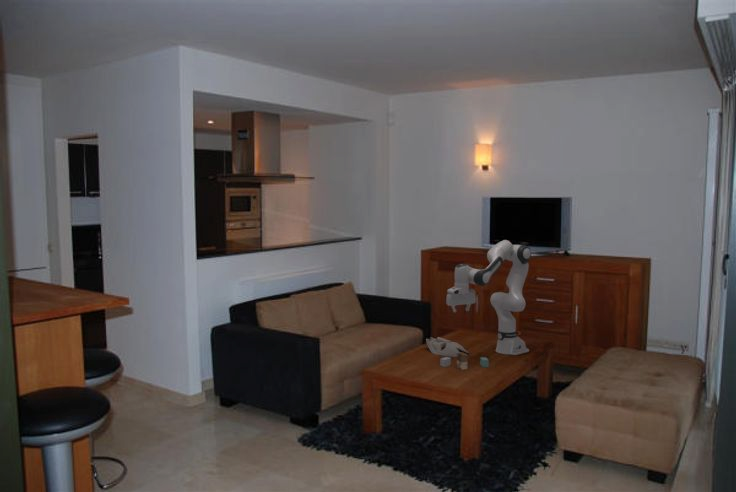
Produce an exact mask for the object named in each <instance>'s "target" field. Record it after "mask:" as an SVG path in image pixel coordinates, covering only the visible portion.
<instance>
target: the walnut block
mask: <svg viewBox="0 0 736 492" xmlns="http://www.w3.org/2000/svg"><path fill="white" fill-rule="evenodd" d="M468 355H469V353H466V352H464V351H459V352H458V353H457V357H456V361H457V360H458V361H460V362H467V363H468V359H469V358H468V357H469V356H468Z"/></svg>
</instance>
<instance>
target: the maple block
mask: <svg viewBox="0 0 736 492" xmlns="http://www.w3.org/2000/svg"><path fill="white" fill-rule="evenodd" d="M456 368H457V369H459V370H461V371H463V370H468V361H467V362H460V361H458V360H457V359H456Z"/></svg>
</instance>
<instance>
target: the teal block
mask: <svg viewBox="0 0 736 492" xmlns="http://www.w3.org/2000/svg"><path fill="white" fill-rule="evenodd" d="M479 358H480V359H479V361H480V362H479V365H480V366H481V367H482V368H489V363H490V361H489V359H488V358H487V357H486V356H485V357H483V356H482V357H479Z"/></svg>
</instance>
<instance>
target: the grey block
mask: <svg viewBox="0 0 736 492" xmlns="http://www.w3.org/2000/svg"><path fill="white" fill-rule="evenodd" d="M439 361H440V365H439V366H440V367H442V368H446V367H449V366H452V365H451V364H452V363H451V362H452V357H446V356H443V357H442V358H440V360H439Z"/></svg>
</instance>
